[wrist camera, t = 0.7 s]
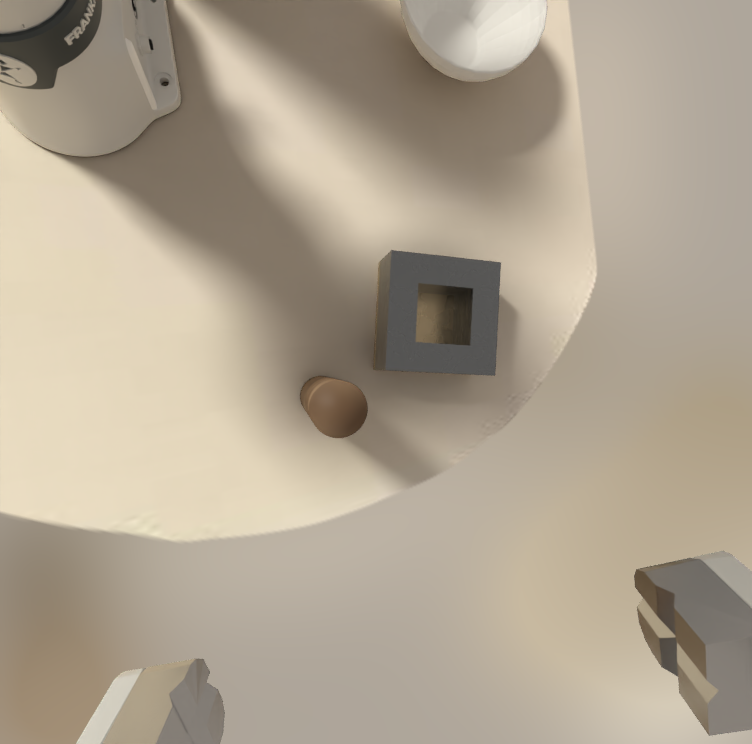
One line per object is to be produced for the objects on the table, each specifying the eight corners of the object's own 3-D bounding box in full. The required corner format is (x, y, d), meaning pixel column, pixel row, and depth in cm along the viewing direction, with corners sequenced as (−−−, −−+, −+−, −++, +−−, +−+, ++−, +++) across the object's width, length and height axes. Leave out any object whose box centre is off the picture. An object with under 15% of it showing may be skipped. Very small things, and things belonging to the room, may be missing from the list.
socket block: (378, 263, 50) (391, 250, 44) (477, 273, 52) (500, 262, 47) (373, 369, 50) (385, 370, 44) (472, 374, 52) (495, 375, 47)
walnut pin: (301, 375, 48) (311, 379, 33) (341, 377, 49) (368, 381, 34) (299, 415, 48) (308, 437, 33) (339, 416, 49) (366, 438, 34)
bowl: (534, 83, 54) (571, 41, 47) (424, 133, 51) (447, 97, 44) (475, -47, 52) (505, -110, 45) (358, -2, 49) (371, -62, 42)
